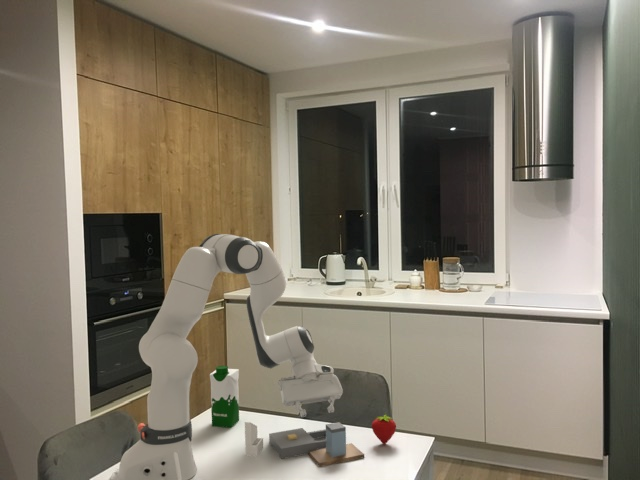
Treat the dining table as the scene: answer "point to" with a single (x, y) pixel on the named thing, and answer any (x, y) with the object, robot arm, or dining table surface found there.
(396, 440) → the dining table surface
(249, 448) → the white slotted stand
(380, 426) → the strawberry
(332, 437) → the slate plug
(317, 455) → the walnut pad
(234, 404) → the milk carton
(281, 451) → the grey socket base
